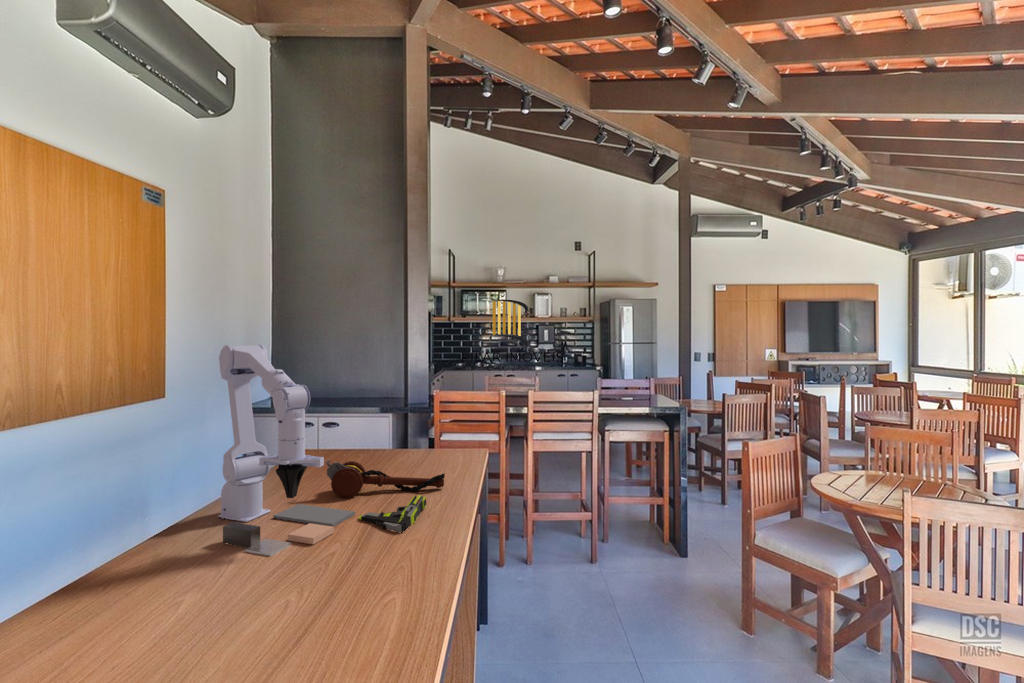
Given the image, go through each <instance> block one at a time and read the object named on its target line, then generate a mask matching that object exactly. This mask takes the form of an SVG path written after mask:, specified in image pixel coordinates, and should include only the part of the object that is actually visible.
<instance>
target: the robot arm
mask: <svg viewBox="0 0 1024 683" xmlns="http://www.w3.org/2000/svg"><path fill="white" fill-rule="evenodd" d="M268 356H269V355H268V350H267V349H266V347H265V346H264V345H263V344H257V345H254V344H253V345H252V344H251V345H229V344H228V345H223V347H222V348H221V350H220V353H219V355H218V360H219V372H220V376H221V377H220V378H221V379H223V380H224V381H227V382H226V383H227V387H228V388H227V390H228V398H229V407H230V417H231V425H232V433H233V434H232V435H233V442H234V444H233V445H232V446H231V447H230V448H228V450H227V451H225V453H224V454H223V464H222V476H223V479H224V480H225V483H224V484H223V486H222V488H221V493H220V514H218V515H217V517H221V518H220V519H224V518H225V520H231V521H238V522H244V523H246V522H250V521H253V520H254V519H257V518H259V517H262V516H264V515H266V514H268V513H270V512H271V509H267V508H263V506H264V504H263V503H264V502H263V500H264V499H263V495H264V494H263V489H264V488H263V487H264V486H263V484H264V482H263V480H266V476H268V474H269V473H270V471H271V466H278V467H277V468H276V469H275V473H276V475H277V476H278V478H279V480H280V482H281V483H282V486H283V489H284V492H285V497H286V498H287V499H293V498H295V497H296V496H298V489H299V486H300V483H301V481H302V478H303V476H304V474H305V472H306V470H307V468H308V467H316V468H321V467H323V466H324V464H325V457H324V456H314V455H308V454H306V410H307V409H308V408H309V407H310V405H311V393H310V390H309V389H308V386H306V384H298V383H297V384H296V383H295V382H294V381H293V380H292V379H291V378H290V376H288V375H287V374H286V373H285V371H284V370H283V369H279V368H275V367H274V366H273V365H272V364H271V363H272V362H270V360H269V358H268ZM256 377H259V378H261V386H262V387H263V389H264V390H265V391H266V392H267V393H268V395H269V396H270V397H271V398H272V405H273V408H274V413H275V414H274V415H275V419H276V420H277V454H275V455H274V454H273V455H269V454H268V451H267V447H266V446H265V445H263V444H261V443H259V442H258V441H257V440H256V432H255V421H254V420H255V419H254V413H253V405H252V396H251V388H250V382H251V380H252V379H254V378H256ZM245 454H246V455H245ZM247 454H248V455H247ZM240 455H242V456H240Z"/></svg>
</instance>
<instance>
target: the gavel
mask: <svg viewBox="0 0 1024 683" xmlns="http://www.w3.org/2000/svg"><path fill="white" fill-rule="evenodd" d="M324 464H326V465H327V466H328V468H327V469H326V475H327V477H328V478H329V479H330V480H331V483H330V487H331V489H332V492H334V494H335V495H336V496H337V497H339V498H342V499H350V498H354V497H355V496H357V495H358V494H359V493H360V492H361V490H362V488H363V486H364V485H374V486H378V488H380V487H383V485H384V486H386V485H387V486H394V487H395V488H397V489H399V490H401V491H403V490H405V491H404V492H408V491H410V492H418V491H421V489H425V488H427V487H436V489H441V488H442V487H444V485H445V473H444V472H443V473H442V474H438V475H435V476H433V477H431V478H425V477H424V478H422V477H402V476H401V477H400V476H399V477H398V476H390V475H387V474H386V473H384V472H382V471H381V470H374V469H369V470H367V471H366V469H365V468H364V467H363V465H362V464H360V463H359V462H357V461H354V460H353V461H352V460H351V461H346V462H345V463H341V462H339V461H337V462H332V464H331V459H328V460H326V461H324ZM410 486H412V487H410Z"/></svg>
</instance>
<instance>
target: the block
mask: <svg viewBox="0 0 1024 683" xmlns="http://www.w3.org/2000/svg"><path fill="white" fill-rule="evenodd" d="M334 533H335V526H334V527H332V526H325V525H318V524H311V523H309V524H307V523H306V524H305V525H303V526H301V527H300V528H297V529H295V530H294V531H291V532H290V533H288V534H287V541H288V542H289V541H290V542H294V543H295V542H296V543H302V544H308V545H315V544H317V543H318V542H320V541H322V540H324V539H325V538H327V537H330V536H331V535H333V534H334Z"/></svg>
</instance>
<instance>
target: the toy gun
mask: <svg viewBox="0 0 1024 683" xmlns="http://www.w3.org/2000/svg"><path fill="white" fill-rule="evenodd" d="M426 506H427V497H426V496H423V495H420V494H418V495H413V497H412V498H411V499H410V501H409V502H408V504H407V505H406V506H398V507H396V511H392V512H383V511H381V512H380V513H378V512H371V511H370V512H369V511H368V512H366V513H365V514H360V516H358V520H360V521H362V522H365V523H369V524H370V523H371V524H373V523H374V525H376V526H379V527H380V526H381V527H382V528H383V529H382V528H381V527H380V528H381V529H382V530H387V529H389V530H393V531H396V532H403V531H405V530H406V529H407V528H408V527H409V526H410V525H411V524H413V523H414V522H415V521H416V522H417V520H418V518H419V516H420V514H421V513H422V511H423V510H424V509H425V508H426ZM416 519H417V520H416ZM416 522H415V523H416ZM415 523H414V524H415ZM414 524H413V525H414ZM411 526H412V525H411ZM411 526H410V527H411ZM410 527H409V528H410ZM409 528H408V529H409ZM389 530H388V531H389ZM396 532H395V533H396ZM405 532H406V531H405Z"/></svg>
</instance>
